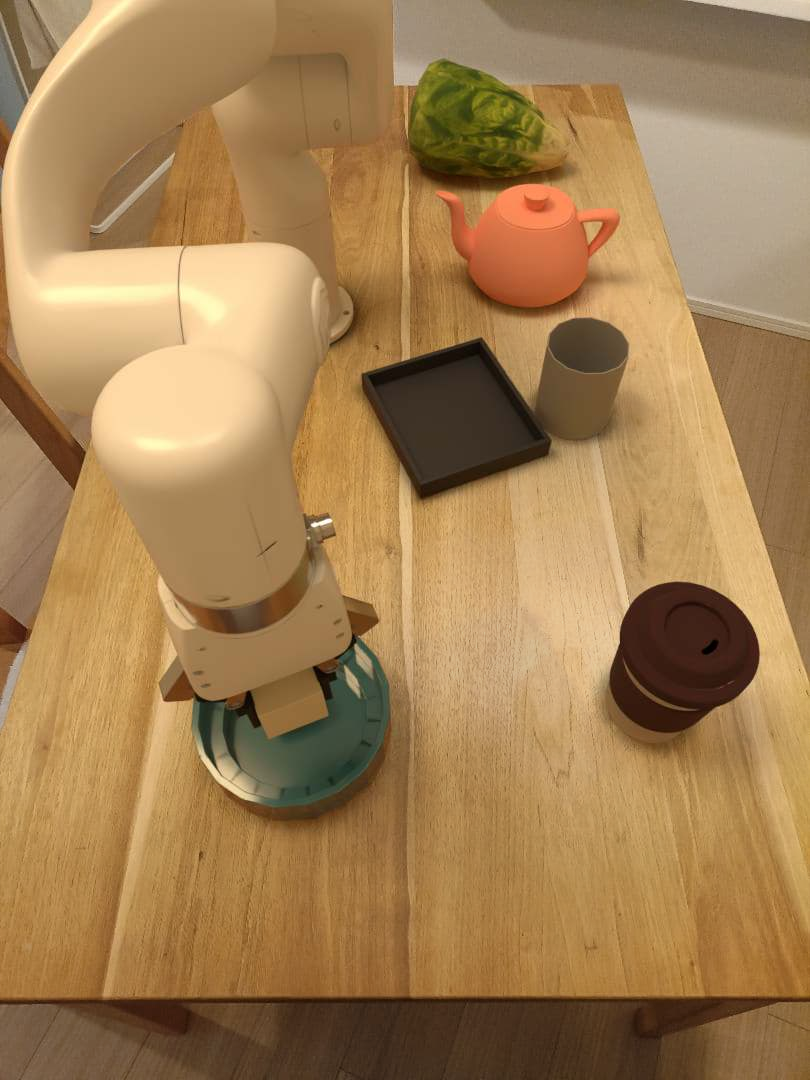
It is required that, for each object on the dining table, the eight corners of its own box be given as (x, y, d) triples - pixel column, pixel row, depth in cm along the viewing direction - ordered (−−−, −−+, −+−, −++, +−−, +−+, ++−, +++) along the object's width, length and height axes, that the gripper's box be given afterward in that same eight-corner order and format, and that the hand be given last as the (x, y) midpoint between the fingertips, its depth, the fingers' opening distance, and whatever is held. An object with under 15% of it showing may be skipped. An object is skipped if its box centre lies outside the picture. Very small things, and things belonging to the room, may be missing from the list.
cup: (606, 445, 84) (627, 379, 76) (531, 434, 85) (543, 368, 77) (610, 389, 89) (630, 322, 80) (539, 380, 90) (552, 312, 81)
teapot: (430, 314, 96) (432, 227, 86) (436, 239, 104) (438, 151, 94) (608, 321, 95) (631, 233, 85) (599, 244, 103) (620, 156, 93)
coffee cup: (578, 657, 70) (614, 575, 58) (684, 648, 71) (743, 565, 58) (602, 764, 65) (648, 700, 53) (717, 754, 66) (789, 688, 53)
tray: (362, 388, 89) (360, 373, 87) (480, 352, 92) (482, 336, 90) (420, 499, 80) (420, 485, 78) (548, 455, 83) (552, 440, 81)
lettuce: (549, 224, 113) (584, 147, 101) (394, 182, 110) (410, 98, 98) (557, 157, 118) (590, 77, 106) (409, 116, 116) (427, 30, 104)
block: (251, 684, 56) (239, 658, 53) (309, 662, 57) (301, 635, 54) (268, 739, 54) (257, 717, 50) (329, 716, 55) (322, 692, 51)
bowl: (186, 679, 70) (171, 656, 66) (353, 617, 73) (349, 592, 69) (234, 854, 62) (221, 840, 57) (420, 775, 65) (420, 757, 61)
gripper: (365, 460, 43) (378, 611, 59) (62, 558, 40) (159, 692, 55) (417, 564, 40) (416, 697, 55) (87, 683, 36) (184, 790, 51)
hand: (287, 694), depth 55 cm, fingers closed on block, 4 cm apart
